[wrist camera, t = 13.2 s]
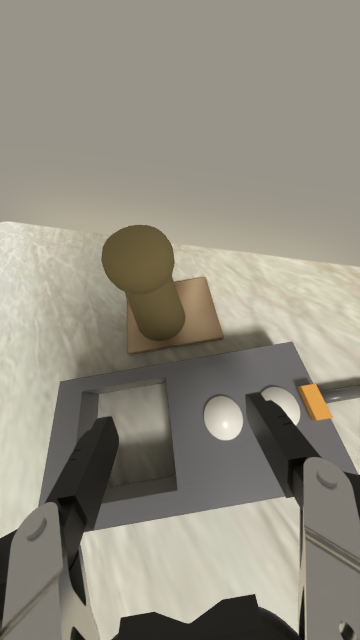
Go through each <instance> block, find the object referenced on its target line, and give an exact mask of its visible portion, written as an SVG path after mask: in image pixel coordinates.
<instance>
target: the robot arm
mask: <svg viewBox="0 0 360 640" xmlns="http://www.w3.org/2000/svg"><path fill="white" fill-rule="evenodd" d="M245 399H246V416H247V420H248V423H249V425H250V427H251V429H252V431H253V433H254V435H255V437H256V439H257V441H258V443H259V445H260V447H261V449H262V451H263V453H264V455H265V457H266V459H267V461H268V463H269V465H270V467H271V469H272V471H273V473H274V475H275V477H276V479H277V481H278V483H279V485H280V487H281V489H282V491H283V493H284V495H285V497H286V498H290V497H295V499H296V501H297V503H298V505H299V506H300V534H299V590H298V634H297V633H296V631H294V630H293V629H292V628H291V627H290V626H289V625H288V624H287V623H286V622H285V621H283V620H282V619H281V618H279V617H278V616H277V615H275V614H274V613H272V612H270V611H268V610H266V609H264V608H261V607H258V604H257V600H256V596H255V594H253V595H247V596H241V597H236V598H230V599H224V600H221V601H220V602H219V603H217V604H216V605H215V606H213V607H212V608H211V609H209V610H208V611H207V612H205V613H204V614H203V615H201V616H200V617H199V618H197V619H196V620H195V621H193V622H192V623H189V624H187V623H183V622H180V621H178V620H175V619H172V618H169V617H167V616H164V615H161V614H158V613H156V612H150V613H145V614H139V615H133V616H128V617H122V618H121V620H120V627H119V633H118V634H117V635H116V636H115V637H114V638H113V639H112V640H360V475H357V474H351V473H347V472H344V471H342V470H340V469H339V468H338V467H337V466H336V465H334V464H333V463H331V462H329V461H327V460H325V459H323V458H322V457H321V456H320V455H319V454H318V453H317V451H316V450H315V449H314V448H313V446H312V445H311V444H310V443H309V441H308V440H307V439H306V438H305V436H304V435H303V434H302V433H301V431H300V430H299V429H298V428H297V426H296V425H295V424H294V423H293V421H292V420H291V419H290V418H289V417H288V416H287V414H286V413H285V411H284V410H283V409H282V408H281V406H279V405H278V404H276V403H275V402H273V401H272V400H268V401H266V400H265V399H264V397H263V396H262V395H261V393H260V392H254V393H248V394H246V395H245ZM118 445H119V437H118V433H117V430H116V427H115V424H114V422H113V419H112V417H111V416H109V417H103V418H98V419H96V420H95V422H94V424H93V426H92V428H91V430H87V431H86V432H85V433H84V435H83V436H82V437H81V438H80V439H79V440H78V442H77V444H76V446H75V448H74V450H73V453H71V455H70V457H69V459H68V462H67V463H66V464H65V466H64V468H63V470H62V472H61V474H60V476H59V477H58V479H57V481H56V483H55V485H54V487H53V489H52V490H51V492H50V494H49V496H48V498H47V500H46V501H45V503H44V504H43V505H41V506H39V507H38V508H36V509H35V510H34V511H33V512H32V513H31V514H30V515H29V516H28V517H27V518H26V519H25V520H24V521H23V523H22V524H21V525H20V527H19V528H18V529H17V530H15V531H13V532H11V533H10V534H8V535H6V536H4V537H2V538H0V640H100V636H99V632H98V628H97V625H96V622H95V619H94V616H93V613H92V609H91V604H90V598H89V592H88V586H87V580H86V574H85V568H84V562H83V556H82V550H81V546H80V542H81V539H82V536H83V533H84V532H85V531H91V530H94V527H95V524H96V520H97V517H98V514H99V510H100V507H101V503H102V500H103V497H104V493H105V490H106V486H107V483H108V480H109V476H110V473H111V470H112V466H113V463H114V459H115V456H116V453H117V449H118Z"/></svg>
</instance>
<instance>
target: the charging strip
mask: <svg viewBox="0 0 360 640" xmlns="http://www.w3.org/2000/svg"><path fill="white" fill-rule="evenodd" d="M164 382H166V386H167V395H168V405H169V414H170V423H171V432H172V442H173V451H174V460H175V469H176V476H172V477H166V478H161V479H155V480H150V481H144V482H138V483H133V484H127V485H121V486H116V487H110V488H106V490H105V493H104V497H103V500H102V503H101V507H100V510H99V514H98V517H97V520H96V524H95V527H94V530H99V529H105V528H110V527H116V526H122V525H127V524H133V523H139V522H144V521H150V520H155V519H161V518H167V517H172V516H178V515H183V514H189V513H195V512H200V511H206V510H211V509H217V508H223V507H228V506H234V505H240V504H245V503H251V502H256V501H262V500H268V499H273V498H279V497H284V496H285V495H284V493H283V491H282V489H281V487H280V485H279V483H278V481H277V479H276V477H275V475H274V473H273V471H272V469H271V467H270V465H269V463H268V461H267V459H266V457H265V455H264V453H263V451H262V449H261V447H260V445H259V443H258V441H257V439H256V437H255V435H254V433H253V431H252V429H251V427H250V425H249V423H248V420H247V416H246V399H245V395H246V394H248V393H254V392H260V393H261V395H262V396H263V397H264V399H265V400H266V401H268V400H272V401H273V402H275V403H276V404H278V405H279V406H281V408H282V409H283V410H284V411H285V413H286V414H287V416H288V417H289V418H290V419H291V420H292V421H293V423H294V424H295V425H296V426H297V428H298V429H299V430H300V431H301V433H302V434H303V435H304V436H305V438H306V439H307V440H308V441H309V443H310V444H311V445H312V446H313V448H314V449H315V450H316V451H317V453H318V454H319V455H320V456H321V457H322V458H323V459H325V460H327V461H329V462H331V463H333V464H334V465H336V466H337V467H338V468H339V469H340V470H342V471H344V472H347V473H351V474H357V475H358V473H357V471H356V469H355V467H354V464H353V462H352V460H351V458H350V456H349V454H348V452H347V450H346V448H345V446H344V444H343V442H342V440H341V438H340V436H339V434H338V432H337V430H336V428H335V426H334V424H333V422H332V420H331V418H333V417H332V415H331V413H330V411H329V409H328V407H327V405H326V403H331V402H337V401H343V400H348V399H354V398H360V385H356V386H350V387H344V388H339V389H333V390H327V391H321V392H320V391H319V389H318V387H317V385H316V384H313V382H312V380H311V378H310V376H309V374H308V372H307V370H306V368H305V366H304V364H303V362H302V360H301V358H300V356H299V354H298V352H297V350H296V348H295V346H294V344H293V342H287V343H281V344H275V345H270V346H264V347H258V348H252V349H246V350H241V351H235V352H229V353H223V354H217V355H212V356H206V357H200V358H194V359H188V360H182V361H177V362H171V363H165V364H159V365H153V366H148V367H142V368H136V369H130V370H124V371H119V372H113V373H107V374H101V375H95V376H90V377H84V378H78V379H72V380H66V381H61V382H60V386H59V391H58V397H57V403H56V408H55V414H54V420H53V426H52V431H51V437H50V443H49V449H48V454H47V460H46V466H45V471H44V477H43V483H42V489H41V494H40V500H39V506H41V505H43V504H44V503H45V501H46V500H47V498H48V496H49V494H50V492H51V490H52V489H53V487H54V485H55V483H56V481H57V479H58V477H59V476H60V474H61V472H62V470H63V468H64V466H65V464H66V463H67V462H68V459H69V457H70V455H71V453H73V450H74V448H75V446H76V444H77V442H78V440H79V439H80V438H81V437H82V436H83V435H84V433H85V432H86V431H87V430H91V428H92V426H93V424H94V422H95V420H96V419H97V412H98V398H99V394H100V393H106V392H112V391H118V390H123V389H129V388H135V387H141V386H147V385H152V384H158V383H164ZM39 506H38V507H39ZM94 530H91V531H94ZM85 532H88V531H85Z"/></svg>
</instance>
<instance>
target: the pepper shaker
mask: <svg viewBox="0 0 360 640" xmlns="http://www.w3.org/2000/svg"><path fill="white" fill-rule="evenodd" d="M102 264H103V267H104V270H105V273H106V275H107V276H108V278H109V279H110V280H111V281H112V282H113V283H114V284H115V285H116V286H117V287H118V288H119V289H121V290H123V291H125V294H126V296H127V299H128V302H129V304H130V307H131V310H132V312H133V315H134V318H135V321H136V323H137V326H138V328H139V331H140V332H141V333H142V334H143V336H144V337H146V338H148V339H150V340H154V341H164V340H168V339H170V338H172V337H175V336H176V335H177V334H178V333H179V332H180V331H181V329H182V328H183V326H184V323H185V312H184V309H183V306H182V303H181V301H180V298H179V295H178V293H177V290H176V287H175V284H174V282H173V279H172V276H171V275H172V272H173V268H174V254H173V248H172V246H171V243H170V242H169V240H168V239H167V237H166V236H165V235H164V234H163V233H162V232H161V231H159V230H158V229H156V228H155V227H151V226H147V225H134V226H128V227H126V228H123V229H120V230H119V231H117V232H116V233H114V234H113V235H111V236H110V237H109V238H108V239H107V241H106V242H105V244H104V246H103V251H102Z"/></svg>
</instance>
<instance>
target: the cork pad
mask: <svg viewBox="0 0 360 640" xmlns="http://www.w3.org/2000/svg"><path fill="white" fill-rule="evenodd" d="M174 284H175V287H176V290H177V293H178V295H179V298H180V301H181V303H182V306H183V309H184V312H185V323H184V326H183V328H182V329H181V331H180V332H179V333H178V334H177V335H176V336H175V337H172V338H170V339H168V340H164V341H154V340H150V339H148V338H146V337H144V336H143V334H142V333H141V332H140V331H139V328H138V326H137V323H136V321H135V318H134V315H133V312H132V310H131V307H130V304H129V302H128V299H127V353H128V354H129V355H130V354H136V353H141V352H147V351H153V350H159V349H165V348H170V347H176V346H182V345H188V344H194V343H200V342H205V341H211V340H217V339H223V334H222V330H221V327H220V324H219V320H218V317H217V314H216V310H215V307H214V303H213V300H212V297H211V293H210V290H209V287H208V283H207V280H206V277H203V278H197V279H191V280H185V281H179V282H174Z"/></svg>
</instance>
